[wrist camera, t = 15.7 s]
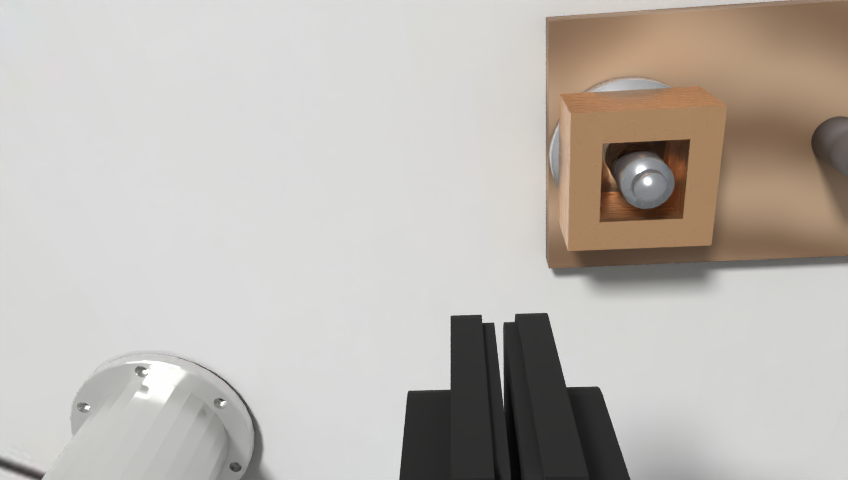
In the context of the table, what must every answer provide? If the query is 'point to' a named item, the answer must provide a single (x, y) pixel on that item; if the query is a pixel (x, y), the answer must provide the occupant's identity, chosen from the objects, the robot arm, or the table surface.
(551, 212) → the walnut board
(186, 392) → the robot arm
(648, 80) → the steel hub
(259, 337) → the table surface
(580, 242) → the wooden square washer
